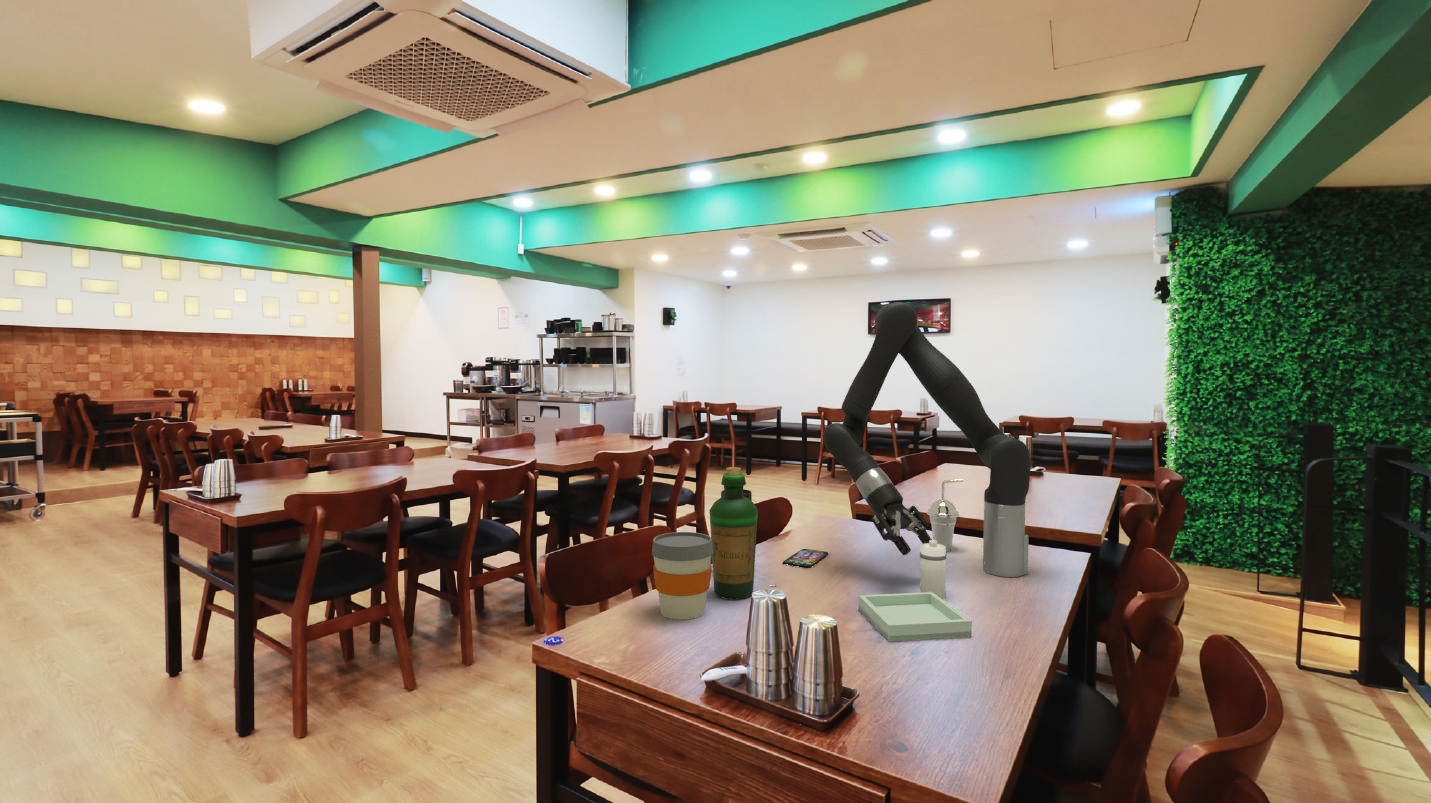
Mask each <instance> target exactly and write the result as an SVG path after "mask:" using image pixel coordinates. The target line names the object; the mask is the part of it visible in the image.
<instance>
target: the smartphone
mask: <svg viewBox="0 0 1431 803" xmlns="http://www.w3.org/2000/svg"><path fill="white" fill-rule="evenodd" d="M826 556H827V557H828V556H829V552H828V551H823V550H816V549H809V548H802V549H800V550H798V551H796V552H795V553H794V554H792V555H791V556H789V557H787V558H786V559H785V560H783V561H782V564H788V565H793V566H792V567H794V566H799V567H798V568H800V567H802V569H812V568H813V567H814V566H816V565H818V563H820V562H821V561H823V560H824V559H825V558H826ZM822 559H823V560H822ZM819 561H820V562H819ZM815 564H816V565H815ZM812 566H813V567H812Z"/></svg>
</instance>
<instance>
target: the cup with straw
mask: <svg viewBox="0 0 1431 803" xmlns="http://www.w3.org/2000/svg"><path fill="white" fill-rule="evenodd" d="M959 482H964V478H959V479H958V478H957V479H948V480H947V479H946V480H944V481H942V483H941V499H938V500H935V501H934V502H933V503H932V504H931V505H930V508H929V509H927V512H926V514H927V515H928V516H929V520H930V524H931V533H932V540H936V541H937V544H941V545H944V546H945V547H946V551H947V552H951V551H952V546H953V541H954V540H953V539H954V532H955V525H956V522H957V518H958V517H960V512H959V511H957V508H956V507H955V506H956V505H955V504H954V503H953V502H951V501H950V500H948V499H945V485H946V484H948V483H959Z"/></svg>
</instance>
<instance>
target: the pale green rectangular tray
mask: <svg viewBox="0 0 1431 803" xmlns="http://www.w3.org/2000/svg"><path fill="white" fill-rule="evenodd" d="M858 611H859V612H860V613H861V614H862V615H863V617H864V618H865V619H866V620H868V621H869V622H870V624H871V625H872V626H874V628H875V629H876V630H877V632H879V634H881V635H882V636H883V637H884V638H885V640H886V641H887V642H889V643H891V642H906V641H908V642H909V641H921V640H924V641H925V640H940V639H941V640H942V639H955V638H956V639H957V638H958V639H959V638H960V639H961V638H972V637H973V636H972V635H973V633H972V632H973V631H972V629H973V625H972V623H973V621H972V619H970V618H969V617H967V616H966V615H964V614H963V613H962V612H961V611H959V610H958V609H956V608H954V606H952V605H951V604H949V603H948V602H947V601H946V600H944V599H941V598H940V597H938V596H937V595H936V594H934V593H933V592H924V593H920V592H905V593H904V592H903V593H887V594H886V593H882V594H867V595H866V594H865V595H864V594H862V595H858Z"/></svg>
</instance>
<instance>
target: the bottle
mask: <svg viewBox="0 0 1431 803" xmlns="http://www.w3.org/2000/svg"><path fill="white" fill-rule="evenodd" d="M725 470H726V472H724V473H723V474H722V478H721V479H722V480H721V482H720V483H721V485H722V486H723V490H724V494H725V496H723V497H721V496H720V497H719V498H718V499H716V501H715V502H713V504H712V506H711V507H710V509H709V524H710V526H709V527H710V537H711V538H712V545H713V554H712V555H711V562H712V576H713V577H712V578H713V592H714V594H716V596H718V597H720V598H722V597H723V599H725V598H726V600H742V599H741V598H743V599H745V597H746V598H747V596H748V597H750V596H752V595H753V593H752V592H754V581H755V565H756V564H755V562H756V551H757V550H756V549H757V546H756V545H757V530H758V515H759V514H758V513H759V512H758V511H759V509H758V507H757V506H756V505H755V503H754V502H753V500H752V501H750V500H749V499H748V498H746V497H744V496H743V489H744V486H746V485H747V481H746V476H745V473H744V472H743V473H742V472H741V470H742V467H738V466H737V467H736V466H729V467H726V468H725ZM751 594H752V595H751Z"/></svg>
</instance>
